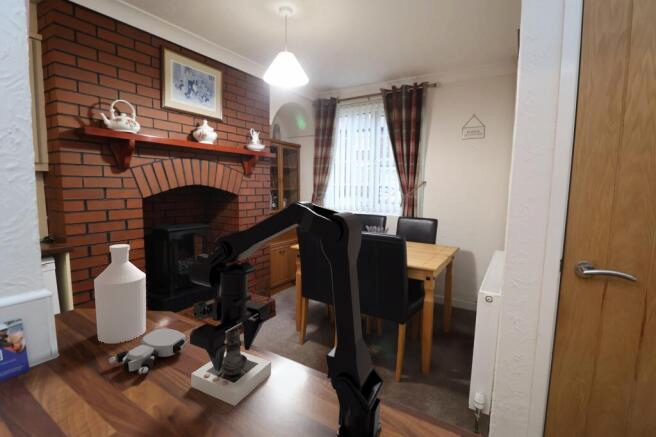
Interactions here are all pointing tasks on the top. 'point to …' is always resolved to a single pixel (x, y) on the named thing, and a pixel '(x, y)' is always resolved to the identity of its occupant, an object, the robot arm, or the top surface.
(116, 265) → the bottle
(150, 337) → the robot toy
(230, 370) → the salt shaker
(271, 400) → the top surface
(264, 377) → the socket block
